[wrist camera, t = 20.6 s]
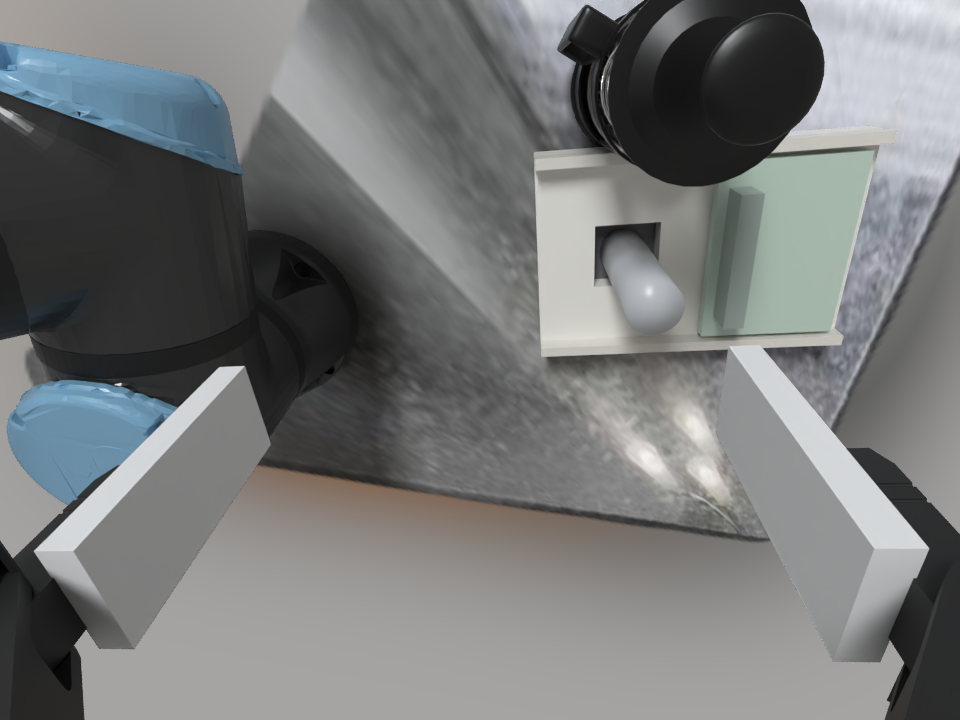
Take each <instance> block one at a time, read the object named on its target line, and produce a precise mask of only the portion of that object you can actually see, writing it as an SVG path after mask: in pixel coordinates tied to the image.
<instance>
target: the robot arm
mask: <svg viewBox="0 0 960 720" xmlns="http://www.w3.org/2000/svg"><path fill="white" fill-rule="evenodd" d="M241 175H244V171H243V168H242V166H241V165H240V164H239V163H238V159H237V154H236V149H235V144H234V139H233V133H232V127H231V122H230V116H229V112H228V108H227V106H226V104H225V102H224V100H223V99H222V97H221V96H220V94H219V93H218V92H217V91H216V90H215V89H214V88H213V87H212V86H211V85H209V84H208V83H207V82H205V81H203V80H202V79H200V78H198V77H195V76H192V75H188V74H183V73H177V72H172V71H166V70H161V69H154V68H149V67H144V66H138V65H132V64H127V63H121V62H115V61H110V60H104V59H98V58H92V57H86V56H81V55H75V54H70V53H64V52H58V51H53V50H47V49H42V48H36V47H30V46H24V45H19V44H13V43H7V42H1V41H0V340H3V339H7V338H11V337H16V336H20V335H25V334H29V336H30V338H31V341H32V344H33V347H34V349H35V352H36V355H37V358H38V361H39V363H40V366H41V369H42V372H43V375H44V383H43V384H38V385H36V386H34V387H33V388H31V389H30V390H28V391H26V392H25V393H24V394H23V395H22V397H21V399H20V402H19V403H18V405H17V406H16V409H15V410H14V412H12V414H11V415H10V417H9V419H8V424H7V434H8V440H9V444H10V447H11V449H12V451H13V453H14V455H15V457H16V459H17V461H18V462H19V463H20V465H21V466H22V467H23V469H24V470H25V471H26V472H27V473H28V475H29V476H30V477H31V478H32V479H33V480H34V481H35V482H36V483H38V484H39V485H40V486H41V487H42V488H43V489H45V490H46V491H47V492H48V493H50V494H52V495H53V496H54V497H55V498H57V499H58V500H60V501H61V502H63V503H65V504H67V505H68V506H67V507H66V508H65V509H64V510H63V514H59V515H58V516H57V517H56V518H55V519H54V520H53V521H51V522H50V523H49V525H47V526H46V527H45V528H44V530H42V531H41V532H40V533H39V534H38V535H37V536H36V537H35V538H34V539H33V540H32V541H31V542H30V543H29V544H28V545H27V546H26V547H25V548H24V549H22V550H21V552H19V553H18V554H17V555H16V556H15V557H14V558H12V557H11V555H10V554H9V553H8V551H7V550H6V548H5V547H4V546H3V544H2V543H1V541H0V720H84V708H83V707H84V706H83V689H82V672H81V657H80V655H79V653H78V651H77V649H76V648H75V646H74V644H75V643H76V642H77V641H78V639H79V638H80V637H81V635H82V634H83V633H84V632H85V630H87V631H88V633H89V634H90V636H91V637H92V639H93V640H94V642H95V643H96V645H97V646H98V648H99V649H101V648H102V649H135V647H136V646H137V644H138V643H139V641H140V639H141V638H142V637H143V635H144V634H145V632H146V631H147V629H148V628H149V626H150V625H151V623H152V622H153V620H154V619H155V617H156V616H157V614H158V613H159V611H160V610H161V608H162V607H163V605H164V604H165V602H166V601H167V599H168V598H169V596H170V595H171V593H172V592H173V590H174V589H175V587H176V586H177V584H178V583H179V581H180V580H181V578H182V577H183V575H184V574H185V572H186V571H187V569H188V568H189V566H190V565H191V563H192V562H193V560H194V559H195V557H196V556H197V554H198V553H199V551H200V549H201V548H202V547H203V545H204V544H205V542H206V541H207V539H208V538H209V536H210V535H211V533H212V532H213V530H214V529H215V527H216V526H217V524H218V523H219V521H220V520H221V518H222V517H223V515H224V514H225V512H226V511H227V509H228V508H229V506H230V505H231V503H232V502H233V500H234V499H235V497H236V496H237V495H238V493H239V491H240V490H241V489H242V487H243V486H244V484H245V483H246V481H247V479H248V478H249V476H250V475H251V473H252V472H253V471H254V469H255V468H256V466H257V465H258V463H259V462H260V460H261V459H262V457H263V456H264V454H265V453H266V451H267V450H268V448H269V447H270V445H271V443H270V440H269V437H270V435H271V434H272V432H273V431H274V429H275V428H276V426H277V425H278V424H279V422H280V421H281V419H282V418H283V416H284V415H285V413H286V412H287V410H288V409H289V407H290V406H291V404H292V403H293V401H294V400H295V398H297V397H299V396H301V395H303V394H305V393H307V392H309V391H310V390H312V389H314V388H316V387H318V386H320V385H321V384H323V383H325V382H326V381H327V380H329V379H330V378H331V377H332V376H333V375H334V374H335V373H336V372H337V371H338V370H339V369H340V367H341V366H342V364H343V363H344V361H345V360H346V358H347V356H348V355H349V353H350V351H351V349H352V347H353V345H354V342H355V338H356V333H357V312H356V307H355V303H354V300H353V297H352V294H351V292H350V290H349V288H348V286H347V284H346V282H345V280H344V279H343V277H342V276H341V274H340V273H339V272H338V270H337V269H336V268H335V267H334V266H333V265H332V263H331V262H330V261H329V260H328V259H326V258H325V257H324V256H323V255H322V254H321V253H319V252H318V251H317V250H315V249H314V248H312V247H311V246H309V245H308V244H306V243H304V242H302V241H300V240H298V239H296V238H293V237H291V236H288V235H285V234H281V233H277V232H272V231H262V230H254V231H248V227H247V219H246V211H245V203H244V195H243V187H242V179H241ZM716 435H717V437H718V439H719V441H720V443H721V445H722V447H723V449H724V451H725V453H726V454H727V456H728V458H729V460H730V462H731V464H732V466H733V468H734V470H735V472H736V474H737V476H738V478H739V480H740V482H741V484H742V486H743V488H744V489H745V491H746V493H747V495H748V497H749V499H750V501H751V503H752V505H753V507H754V509H755V511H756V513H757V515H758V517H759V519H760V521H761V522H762V524H763V526H764V528H765V530H766V532H767V534H768V536H769V538H770V540H771V542H772V544H773V546H774V548H775V550H776V551H777V554H778V555H779V557H780V559H781V561H782V563H783V565H784V567H785V569H786V571H787V573H788V575H789V577H790V579H791V581H792V582H793V585H794V586H795V588H796V590H797V592H798V594H799V596H800V598H801V600H802V602H803V604H804V606H805V608H806V610H807V612H808V614H809V616H810V618H811V620H812V621H813V623H814V625H815V627H816V629H817V631H818V633H819V635H820V637H821V639H822V641H823V643H824V645H825V647H826V649H827V651H828V653H829V655H830V656H831V658H832V660H833V661H837V662H839V661H840V662H881V659H882V657H883V654H884V652H885V650H886V648H887V645H888V643H889V641H891V642H892V644H893V645H894V647H895V649H896V650H897V652H898V653H899V655H900V656H901V658H902V660H903V661H904V665H903V667H902V669H901V672H900V673H899V675H898V677H897V680H896V682H895V684H894V686H893V688H892V691H891V693H890V695H889V697H888V699H887V701H889V702H890V705H889V708H888V711H887V714H886V717H885V720H960V534H959V533H958V532H957V531H956V530H955V529H954V528H953V527H952V525H951V524H950V523H949V522H948V521H947V520H946V519H945V518H944V517H943V516H942V515H941V513H939V511H938V510H937V509H936V508H935V507H934V506H933V505H932V504H931V503H928V502H927V498H926V497H925V496H924V495H923V494H922V493H921V492H920V491H919V490H918V489H917V487H913V486H912V482H911V481H910V480H909V479H908V478H907V477H906V476H905V474H904V473H903V472H902V471H901V470H900V469H899V468H898V467H897V466H896V465H895V464H894V463H892V462H891V461H889V460H888V459H886V458H884V457H883V456H881V455H880V454H878V453H876V452H875V451H873V450H872V449H870V448H845V447H844V445H843V444H842V443H841V442H840V441H839V439H838V438H837V437H836V436H835V435H834V433H833V432H832V431H831V430H830V429H829V427H828V426H827V425H826V424H825V423H824V421H823V420H822V419H821V418H820V417H819V415H818V414H817V413H816V412H815V411H814V409H813V408H812V407H811V406H810V405H809V403H808V402H807V401H806V400H805V399H804V397H803V396H802V395H801V394H800V393H799V391H798V390H797V389H796V388H795V387H794V385H793V384H792V383H791V382H790V381H789V379H788V378H787V377H786V376H785V375H784V373H783V372H782V371H781V370H780V369H779V367H778V366H777V365H776V364H775V363H774V361H773V360H772V359H771V358H770V357H769V355H768V354H767V353H766V352H765V351H764V349H763V348H762V347H761V346H760V345H747V346H729V347H728V354H727V360H726V367H725V374H724V380H723V387H722V394H721V401H720V407H719V414H718V421H717V427H716Z"/></svg>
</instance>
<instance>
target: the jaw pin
mask: <svg viewBox="0 0 960 720" xmlns="http://www.w3.org/2000/svg"><path fill="white" fill-rule="evenodd" d="M599 255H600V259H601V261H602V264H603V266H604V268H605V270H606V272H607V275H608V277H609V279H610V281H611V284H612V286H613V288H614V290H615V293H616V295H617V297H618V299H619V302H620V304H621V306H622V308H623V311H624V313H625V315H626V317H627V320H628V322H629V324H630V325H631V326H632V327H633V328H634V329H635V330H636V331H638V332H640V333H643V334H647V335H657V334H661V333H664V332H666V331H668V330H670V329H672V328H673V327H674V326H675V325H676V324H677V323H678V322H679V321H680V319H681V318H682V316H683V313H684V310H685V301H684V297H683V295H682V293H681V292H680V290H679V289H678V288H677V286H676V285H675V283H674V282H673V281H672V279H671V278H670V277H669V275H668V274H667V272H666V271H665V270H664V268H663V267H662V266H661V264H660V263H659V261H658V260H657V259H656V257H655V256H654V255H653V253H652V252H651V250H650V249H649V248H648V246H647V245H646V244H645V242H644V241H643V239H642V238H641V237H640V235H639V234H638V233H636V232H635V231H633V230H630V229H617V230H614V231H612V232H611V233H609V234H608V235H607V236H606V237H605V238H604V239H603V241H602V243H601V245H600V249H599Z"/></svg>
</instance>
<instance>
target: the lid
mask: <svg viewBox="0 0 960 720" xmlns="http://www.w3.org/2000/svg"><path fill="white" fill-rule="evenodd" d="M874 152H875V151H874V150H870V149H856V150H842V151H829V152H816V153H803V154H790V155H776V156H767V157H766V158H765V159H764V160H762V161H761V162H760V163H759V164H758V165H756V166H755V167H753V168H751V169H750V170H748V171H746V172H745V173H743V174H741V175H740V176H737V177H735V178H732V179H730V180H727V181H725V182H722V183H718V184H715V185H714V194H713V202H712V211H711V219H710V228H709V236H708V245H707V254H706V262H705V271H704V279H703V288H702V296H701V305H700V314H699V322H698V333H699V334H700V336H723V335H747V334H770V333H793V332H817V331H831V327H832V323H833V318H834V314H835V310H836V306H837V302H838V298H839V294H840V290H841V286H842V282H843V278H844V274H845V270H846V266H847V261H848V257H849V253H850V249H851V245H852V241H853V237H854V233H855V229H856V225H857V221H858V217H859V213H860V209H861V205H862V200H863V196H864V192H865V188H866V184H867V180H868V176H869V172H870V168H871V164H872V160H873V156H874Z"/></svg>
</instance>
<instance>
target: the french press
mask: <svg viewBox="0 0 960 720" xmlns="http://www.w3.org/2000/svg"><path fill="white" fill-rule="evenodd" d="M641 7H642V8H641ZM640 8H641V9H640ZM557 50H558V52H560V53H561V54H563V55H565V56H566V57H568V58H570V59H571V60H573V61H575V62H576V65H575V69H574V73H573V77H572V82H571V100H572V108H573V111H574V114H575V117H576V120H577V122H578V124H579V126H580V127H581V129H582V131H583V132H584V133H585V135H586V136H587V137H588V138H589V139H590V140H591V141H592V142H593V143H595V144H596V145H598V146H599V147H606V148H608V149H609V150H611V151H612V152H614V153H615V154H617V155H619V156H620V157H622V158H623V159H625V160H626V161H628V162H629V163H631V164H633V165H635V166H638V167H639V168H640V169H642V170H643V171H644V172H646V173H647V174H648V175H650V176H652V177H654V178H656V179H658V180H661V181H663V182H665V183H668V184H673V185H678V186H683V187H703V186H708V185H713V184H718V183H722V182H725V181H727V180H730V179H732V178H735V177H737V176H740V175H741V174H743V173H745V172H746V171H748V170H750V169H751V168H753V167H755V166H756V165H758V164H759V163H760V162H761V161H762V160H764V159H765V158H766V157H767V156H768V155H769V154H771V153H772V152H773V151H774V150H775V149H776V148H777V147H778V145H779V144H780V143H781V142H782V141H783V140H784V138H785V137H786V136H787V135H788V134H789V132H790V130H791V129H792V128H794V127H795V126H796V125H797V124H798V123H799V122H800V121H801V120H802V119H803V118H804V116H805V115H806V114H807V113H808V112H809V110H810V108H811V107H812V105H813V104H814V102H815V100H816V98H817V96H818V93H819V91H820V88H821V85H822V80H823V76H824V63H825V62H824V55H823V49H822V46H821V43H820V41H819V38H818V37H817V35H816V34H815V32H814V31H813V29H812V25H811V23H810V20H809V17H808V15H807V12H806V9H805V7H804V5H803V4H802V2H801V1H800V0H644V1H642V2H641V3H640V4H638V5H637V6H636V7H634V8H633V9H632V10H630V11H629V12H628V13H627V14H626V15H623V16H621V17H619V18H618V19H616V20H615V21H614V20H612V19H610V18H609V17H607V16H606V15H604V14H602V13H601V12H599V11H598V10H596V9H594V8H593V7H591V6H590V5H585V6H584V7H583V8H582V9H581V10H580V12H579V13H578V14H577V15H576V17H575V18H574V19H573V20H572V21H571V23H570V24H569V26H568V28H567V30H566V32H565V34H564V36H563V37H562V39H561V41H560V43H559V45H558V49H557ZM621 151H622V152H621ZM623 152H624V153H626V154H624V153H623Z"/></svg>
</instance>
